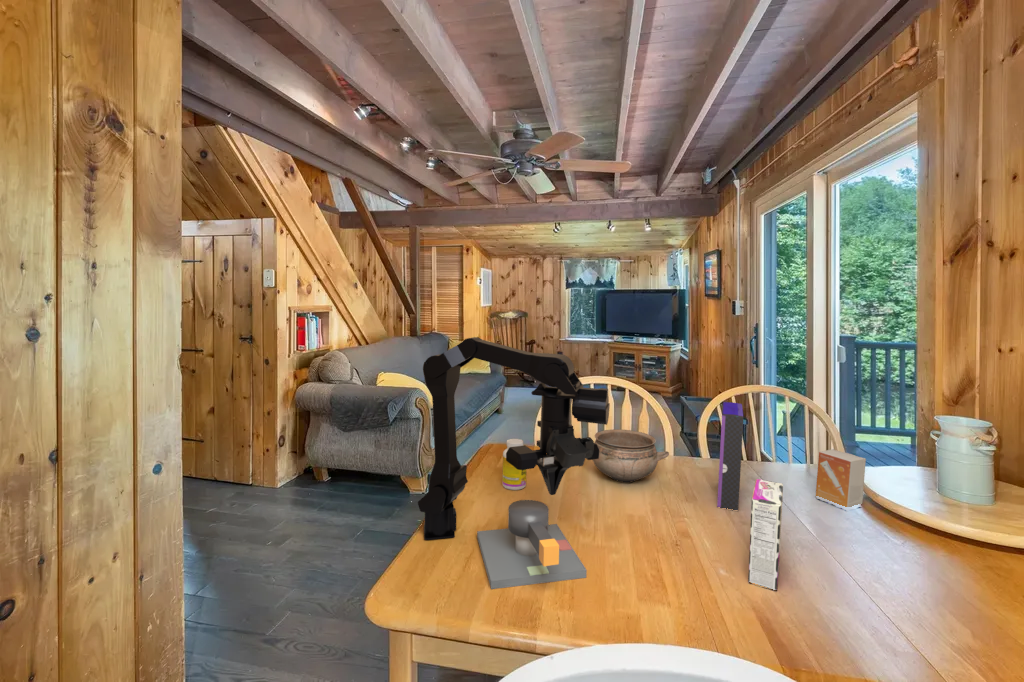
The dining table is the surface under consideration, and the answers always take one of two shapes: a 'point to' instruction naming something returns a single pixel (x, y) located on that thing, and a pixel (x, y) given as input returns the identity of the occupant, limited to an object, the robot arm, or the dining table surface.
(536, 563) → the base
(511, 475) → the supplement bottle
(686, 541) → the dining table surface
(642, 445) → the cooking pot
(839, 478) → the small box
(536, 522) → the lock lever handle
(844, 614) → the dining table surface
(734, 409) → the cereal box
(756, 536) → the candy bar box
